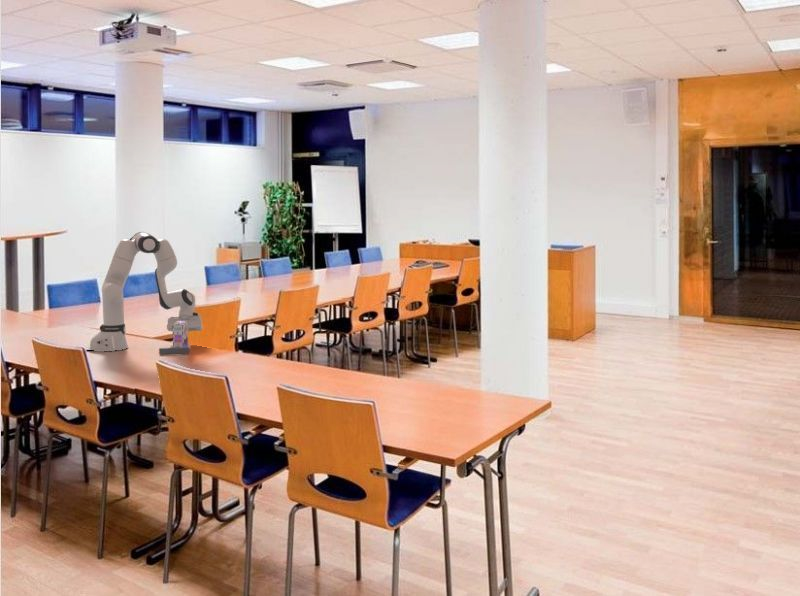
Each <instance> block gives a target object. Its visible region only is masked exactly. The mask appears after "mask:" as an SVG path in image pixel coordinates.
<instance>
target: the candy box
mask: <svg viewBox="0 0 800 596" xmlns="http://www.w3.org/2000/svg"><path fill="white" fill-rule="evenodd" d="M172 345H173V348H187V347H188V346H189V332H188V330H187V321H177V322H176V323H174V324H173V331H172Z"/></svg>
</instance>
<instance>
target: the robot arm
mask: <svg viewBox="0 0 800 596" xmlns="http://www.w3.org/2000/svg"><path fill="white" fill-rule="evenodd" d="M139 252H141V253H144V254H153V256H154V257H155V261H156V265H157V266H156V269H155V271H154V274H155V282H156V286H157V287H156V289H157V292H158V302H159V305H160V307H161V308H162V309H165V310H167V311H168V310H170V309H173V308H179V311H178V316H170V317H168V318H167V324H166V329H167V331H168V332H170V331H171V332H173V324H174V323H176V322H177V321H187V330H188V333H189V332H195V331H197V332H200V331H202V330H203V321H202V316H201V314H200V313H199V312H196V311H195V309H196V296H195V294H193V293H192V292H190V291H188V290H187V289H185V288H183V289H178V290H173V291H168V290H167V283H166V276H167V275H169V274H171V273H172V272H173V271H174V270H175V269H176V268H177V265H178V260H177V256H176V254H175V252H174V249H173V247H172V245H171V243H170V242H169V241H168V240H167V239H166V238H165V239H164V238H161V239H157V238H156V237H155V236H153V235H152V234H150V233H148V232H146V231H145V232H144V231H139V232H137V233H134V235H132V236H131V238H129V239H121V240H120V242H119V243H118V245H117V247H116V248H115V250H114V253H113V256H112V259H111V262H110V264H109V268H108V270H107V271H106V272H107V273H106V276H105V278H104V281H103V284H102V286H101V294H102V298H101V299H102V317H103V318H102V319H103V323H102V324H101V325H100V326H99V330H100V331H99V332H98V333H96V334H95V335H94V336H93V337H92V338H91V339H90V341H89V346H87V347H86V348H88V349H87V350H94V351H93V352H104V351H112V352H116V351H115V350H117V351H122V349H123V350H127V349H128V348H129V345H128V342H127V337H126V323H125V313H124V312H125V309H124V307H125V306H124V305H125V304H124V287H125V284H126V282H127V279H128V277H129V275H130V273H131V269H132V267H133V263H134V261H135V257H136V255H137V254H138V253H139ZM126 348H127V349H126Z"/></svg>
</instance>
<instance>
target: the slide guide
mask: <svg viewBox="0 0 800 596" xmlns="http://www.w3.org/2000/svg"><path fill="white" fill-rule="evenodd" d="M191 348H192V345H191V344H188V347H187V348H173V344H172V345H170V346H169V347H159V348H158V351H159V352H158V355H159V354H183V355H190V354H191V353H190V349H191ZM189 353H190V354H189Z"/></svg>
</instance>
